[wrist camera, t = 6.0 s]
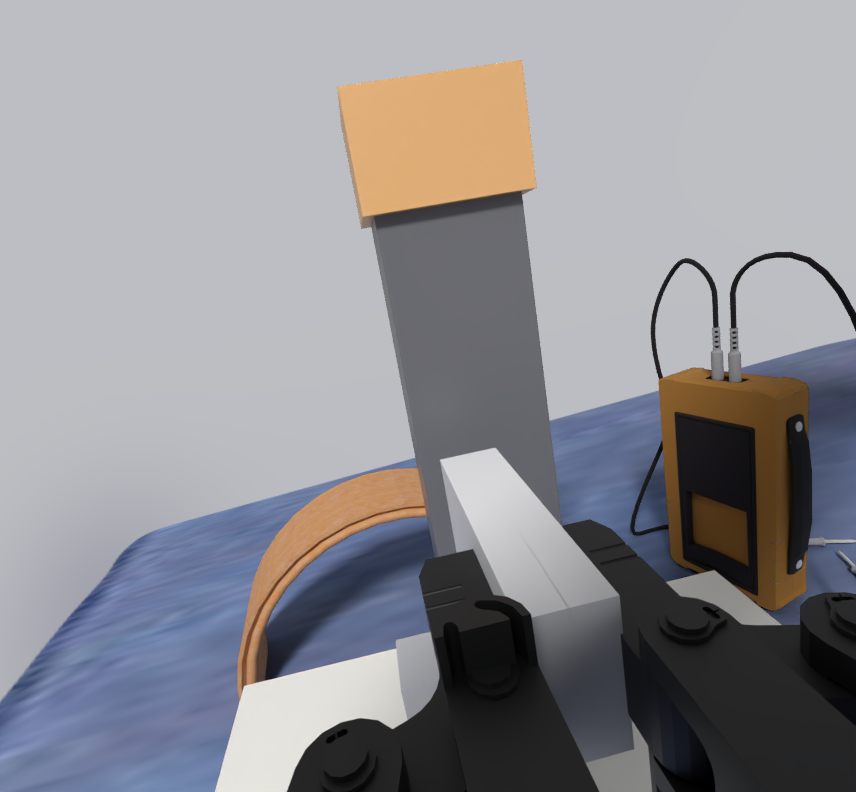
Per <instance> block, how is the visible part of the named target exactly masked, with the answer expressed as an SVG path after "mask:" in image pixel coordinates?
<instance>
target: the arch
mask: <svg viewBox="0 0 856 792" xmlns="http://www.w3.org/2000/svg"><path fill="white" fill-rule="evenodd" d="M415 517H427V515H426V510H425V505H424V499H423V494H422V489H421V484H420V478H419V473H418V468H409V469H389V470H384V471H380V472H375V473H370V474H365V475H362V476H360V477H357V478H354V479H352V480H349V481H346V482H344V483H341V484H339V485H337V486H335V487H334V488H332V489H330V490H328V491H326V492H325V493H323V494H321V495H319V496H318V497H316V498H315V499H314V500H312V501H311V502H310V503H309V504H307V505H306V506H305V507H304V508H302V509H301V510H300V511H299V512H297V513H296V514H295V515H294V516H293V517H292V518H291V519H290V520H289V522H288V523H287V524H286V525H285V526H284V527H283V528H282V529H281V530H280V532H279V533H278V534H277V535H276V537H275V538H274V540H273V542H272V543H271V545H270V546H269V548H268V549H267V551H266V553H265V554H264V556H263V558H262V560H261V563H260V565H259V568H258V570H257V572H256V575H255V577H254V580H253V585H252V590H251V595H250V599H249V604H248V610H247V615H246V620H245V626H244V631H243V637H242V642H241V647H240V653H239V658H238V680H237V690H238V695H239V699H241V696H242V692H243V688H244V686H246V685H250V684H254V683H258V682H262V681H265V674H266V665H267V656H268V648H267V646H268V643H267V638H266V634H265V627H266V625H267V623H268V620H269V618H270V616H271V613H272V611H273V609H274V607H275V606H276V604H277V603H278V601H279V600H280V598H281V597H282V595H283V593H284V592H285V590H286V589H287V587H288V586H289V585H290V584H291V583H292V582H293V581H294V580H295V578H296V577H297V576H298V575H299V574H300V573H301V572H302V571H303V570H304V568H305V567H306V566H308V565H309V564H310V563H311V562H313V561H314V560H315V559H316V558H318V557H319V556H320V555H321V554H322V553H324V552H325V551H326V550H327V549H329V548H331V547H332V546H334V545H336V544H337V543H339V542H341V541H343V540H344V539H346V538H348V537H349V536H351V535H353V534H355V533H358V532H361V531H363V530H366V529H368V528H371V527H373V526H376V525H378V524H382V523H387V522H391V521H395V520H400V519H404V518H415Z"/></svg>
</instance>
